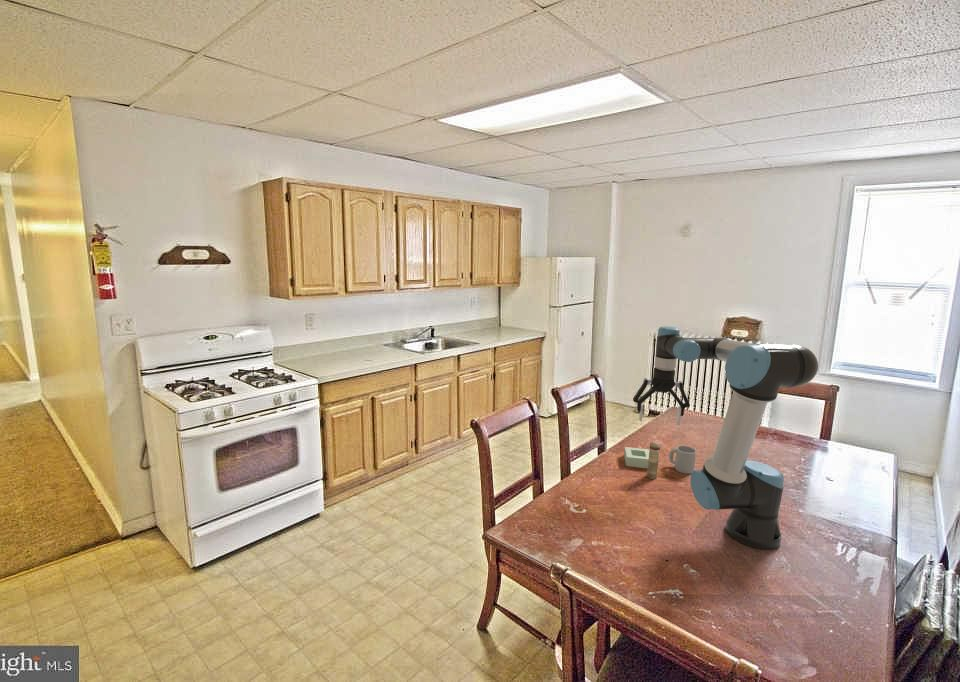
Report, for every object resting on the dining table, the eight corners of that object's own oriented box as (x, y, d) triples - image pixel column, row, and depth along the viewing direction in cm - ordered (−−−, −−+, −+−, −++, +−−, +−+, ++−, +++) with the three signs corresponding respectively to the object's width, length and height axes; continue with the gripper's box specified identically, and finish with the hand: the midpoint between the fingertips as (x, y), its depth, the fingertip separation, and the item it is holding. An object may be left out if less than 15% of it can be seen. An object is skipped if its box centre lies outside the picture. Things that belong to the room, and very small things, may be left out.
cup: (691, 476, 187) (693, 455, 185) (665, 468, 193) (667, 447, 191) (695, 469, 193) (698, 449, 191) (670, 462, 199) (672, 442, 197)
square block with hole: (651, 468, 192) (652, 459, 191) (626, 466, 194) (627, 456, 193) (648, 458, 202) (649, 449, 201) (624, 455, 204) (624, 446, 203)
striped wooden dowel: (657, 479, 183) (661, 445, 181) (647, 478, 184) (650, 444, 181) (655, 475, 187) (659, 442, 184) (646, 474, 188) (649, 441, 185)
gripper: (698, 368, 178) (691, 421, 182) (629, 362, 183) (624, 414, 188) (702, 373, 171) (695, 428, 175) (630, 367, 176) (625, 421, 180)
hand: (658, 421), depth 181 cm, fingers open, 13 cm apart
